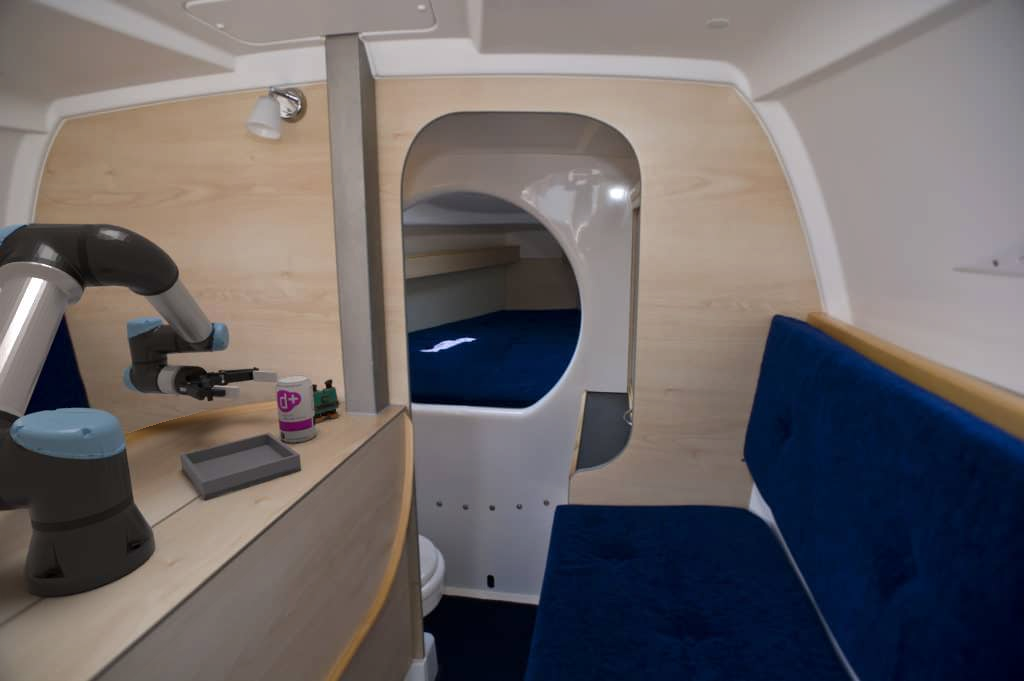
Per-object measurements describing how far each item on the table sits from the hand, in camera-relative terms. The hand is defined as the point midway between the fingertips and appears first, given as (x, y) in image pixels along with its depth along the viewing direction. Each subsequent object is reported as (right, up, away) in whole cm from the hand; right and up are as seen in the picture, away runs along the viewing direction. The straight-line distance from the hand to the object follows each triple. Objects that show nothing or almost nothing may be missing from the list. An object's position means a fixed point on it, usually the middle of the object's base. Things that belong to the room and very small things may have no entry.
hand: (258, 384), depth 126 cm
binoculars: (+9, -10, +15) cm, 21 cm away
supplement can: (+10, -13, 0) cm, 16 cm away
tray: (+5, -17, -18) cm, 25 cm away
